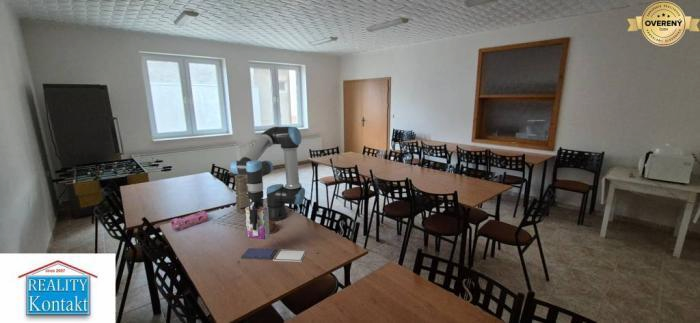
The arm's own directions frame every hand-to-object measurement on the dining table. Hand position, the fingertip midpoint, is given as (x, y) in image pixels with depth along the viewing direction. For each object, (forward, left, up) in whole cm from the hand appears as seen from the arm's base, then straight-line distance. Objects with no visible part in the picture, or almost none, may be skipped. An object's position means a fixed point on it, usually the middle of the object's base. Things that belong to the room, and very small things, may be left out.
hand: (258, 232), depth 154 cm
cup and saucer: (-30, -5, -13) cm, 33 cm away
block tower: (-61, -36, -13) cm, 72 cm away
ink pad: (0, 0, -12) cm, 12 cm away
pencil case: (-34, -61, -13) cm, 71 cm away
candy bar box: (0, 0, -3) cm, 3 cm away
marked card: (0, +17, -12) cm, 21 cm away
